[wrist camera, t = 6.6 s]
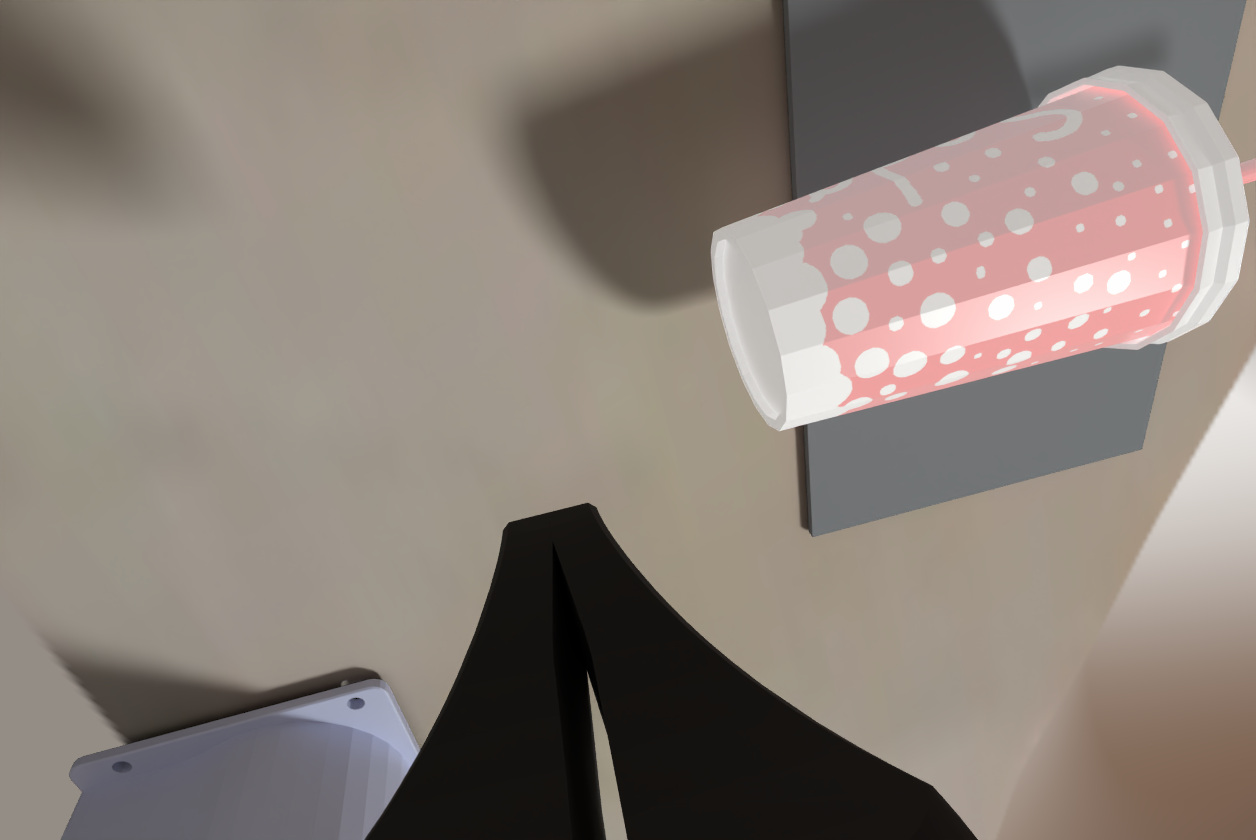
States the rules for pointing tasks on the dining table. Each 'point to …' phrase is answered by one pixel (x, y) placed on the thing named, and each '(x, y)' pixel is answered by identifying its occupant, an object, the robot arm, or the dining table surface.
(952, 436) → the rubber mat
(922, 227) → the beverage cup
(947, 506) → the dining table surface
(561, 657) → the robot arm
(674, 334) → the dining table surface
